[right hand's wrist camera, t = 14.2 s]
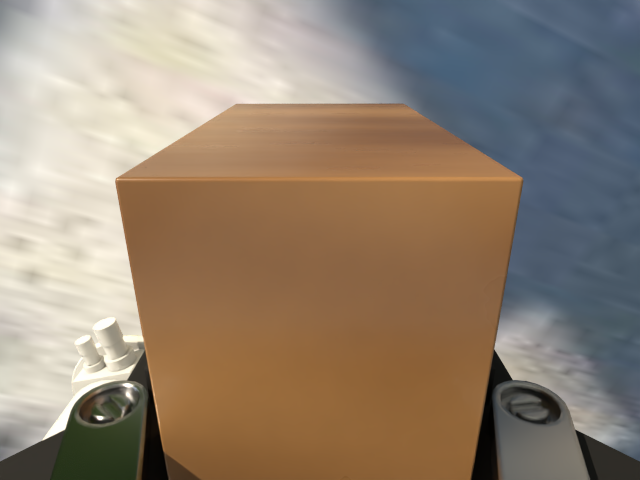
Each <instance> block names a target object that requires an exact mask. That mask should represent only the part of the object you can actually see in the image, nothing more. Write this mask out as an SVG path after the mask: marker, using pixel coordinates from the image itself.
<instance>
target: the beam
mask: <svg viewBox="0 0 640 480" xmlns="http://www.w3.org/2000/svg"><path fill="white" fill-rule="evenodd" d="M115 183H116V188H117V194H118V200H119V205H120V211H121V216H122V222H123V228H124V233H125V239H126V245H127V250H128V256H129V261H130V267H131V273H132V278H133V284H134V289H135V295H136V301H137V306H138V312H139V318H140V323H141V329H142V334H143V340H144V346H145V351H146V357H147V362H148V368H149V374H150V379H151V385H152V391H153V396H154V402H155V407H156V413H157V419H158V424H159V430H160V435H161V441H162V447H163V452H164V458H165V464H166V469H167V475H168V480H471V479H472V474H473V468H474V462H475V456H476V451H477V445H478V439H479V433H480V428H481V422H482V416H483V410H484V405H485V399H486V393H487V387H488V381H489V376H490V370H491V364H492V358H493V353H494V347H495V341H496V335H497V330H498V324H499V318H500V312H501V307H502V301H503V295H504V289H505V284H506V278H507V272H508V266H509V260H510V255H511V249H512V243H513V237H514V232H515V226H516V220H517V214H518V209H519V203H520V197H521V191H522V186H523V178H522V177H520V176H519V175H517V174H515V173H514V172H512V171H511V170H509V169H507V168H506V167H504V166H503V165H501V164H499V163H498V162H496V161H495V160H493V159H491V158H490V157H488V156H487V155H485V154H483V153H482V152H480V151H479V150H477V149H475V148H474V147H472V146H471V145H469V144H467V143H466V142H464V141H463V140H461V139H459V138H458V137H456V136H455V135H453V134H451V133H450V132H448V131H447V130H445V129H443V128H442V127H440V126H439V125H437V124H435V123H434V122H432V121H431V120H429V119H427V118H426V117H424V116H423V115H421V114H419V113H418V112H416V111H415V110H413V109H411V108H410V107H408V106H407V105H405V104H235V105H234V106H232V107H230V108H229V109H227V110H226V111H224V112H222V113H221V114H219V115H218V116H216V117H214V118H213V119H211V120H210V121H208V122H206V123H205V124H203V125H201V126H200V127H198V128H197V129H195V130H193V131H192V132H190V133H189V134H187V135H185V136H184V137H182V138H180V139H179V140H177V141H176V142H174V143H172V144H171V145H169V146H168V147H166V148H164V149H163V150H161V151H160V152H158V153H156V154H155V155H153V156H151V157H150V158H148V159H147V160H145V161H143V162H142V163H140V164H139V165H137V166H135V167H134V168H132V169H130V170H129V171H127V172H126V173H124V174H122V175H121V176H119V177H118V178H116V181H115Z"/></svg>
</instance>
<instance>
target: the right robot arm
mask: <svg viewBox="0 0 640 480" xmlns="http://www.w3.org/2000/svg"><path fill="white" fill-rule="evenodd" d="M93 330H94V332H95V335H96V337H97V339H98V341H99V343H97V344H96V345H95V344H94V342H93V340H92V337H91V336H90V335H86V336H83V337H81V338H79V339H78V340H76V341H75V345H76V347H77V349H78V351H79V353H80V355H81V356H82V358H81V359H80V361H79V362H78V364H77V365H76V367H75V370H74V373H73V376H72V390H73V395H74V397H73V399H72V400H71V402H70V403H69V404H68V406H67V407H66V408H65V410H64V411H63V413H62V414H61V415H60V417H59V418H58V419H57V421H56V422H55V424H54V425H53V426H52V428H51V429H50V430H49V432H48V433H47V435H46V436H45V437H44V439H43V440H42V441H41V442H39V443H37V444H35V445H33V446H31V447H29V448H27V449H25V450H23V451H21V452H19V453H17V454H15V455H13V456H11V457H8V458H6V459H4V460H2V461H0V480H168V475H167V469H166V464H165V458H164V452H163V447H162V441H161V435H160V430H159V424H158V419H157V413H156V407H155V402H154V396H153V391H152V385H151V379H150V374H149V368H148V362H147V357H146V351H145V346H144V340H143V337H142V336H123V334H122V332H121V330H120V328H119V325H118V323H117V321H116V319H115V318H113V317H111V318H106V319H103V320H101V321H99V322H97V323H96V324H95V325H94V326H93ZM471 480H640V462H639V461H637V460H635V459H633V458H631V457H629V456H627V455H625V454H623V453H621V452H619V451H617V450H615V449H613V448H611V447H609V446H607V445H605V444H603V443H601V442H599V441H597V440H595V439H593V438H591V437H589V436H587V435H585V434H583V433H581V432H579V431H577V430H575V428H574V425H573V421H572V418H571V415H570V412H569V409H568V407H567V406H566V404H565V402H564V401H563V400H562V399H561V398H560V397H559V396H558V395H557V394H555V393H553V392H552V391H550V390H549V389H547V388H545V387H543V386H540V385H538V384H535V383H531V382H527V381H519V380H512V378H511V376H510V375H509V373H508V371H507V370H506V368H505V366H504V365H503V363H502V361H501V360H500V358H499V356H498V355H497V353H496V351H495V350H494V353H493V358H492V364H491V370H490V376H489V381H488V387H487V393H486V399H485V405H484V410H483V416H482V422H481V428H480V433H479V439H478V445H477V451H476V456H475V462H474V468H473V474H472V479H471Z"/></svg>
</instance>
